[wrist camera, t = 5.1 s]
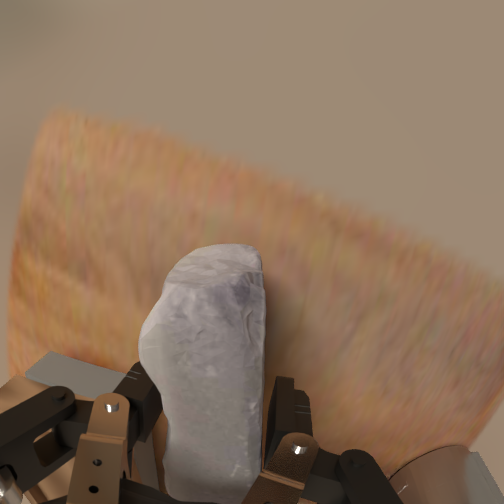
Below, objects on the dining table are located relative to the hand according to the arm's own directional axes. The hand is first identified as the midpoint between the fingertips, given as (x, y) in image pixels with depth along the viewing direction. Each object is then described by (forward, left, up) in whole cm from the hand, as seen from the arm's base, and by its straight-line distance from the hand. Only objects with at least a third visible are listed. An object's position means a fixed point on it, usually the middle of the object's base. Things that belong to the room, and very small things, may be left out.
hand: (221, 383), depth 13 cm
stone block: (-1, 0, -6) cm, 6 cm away
